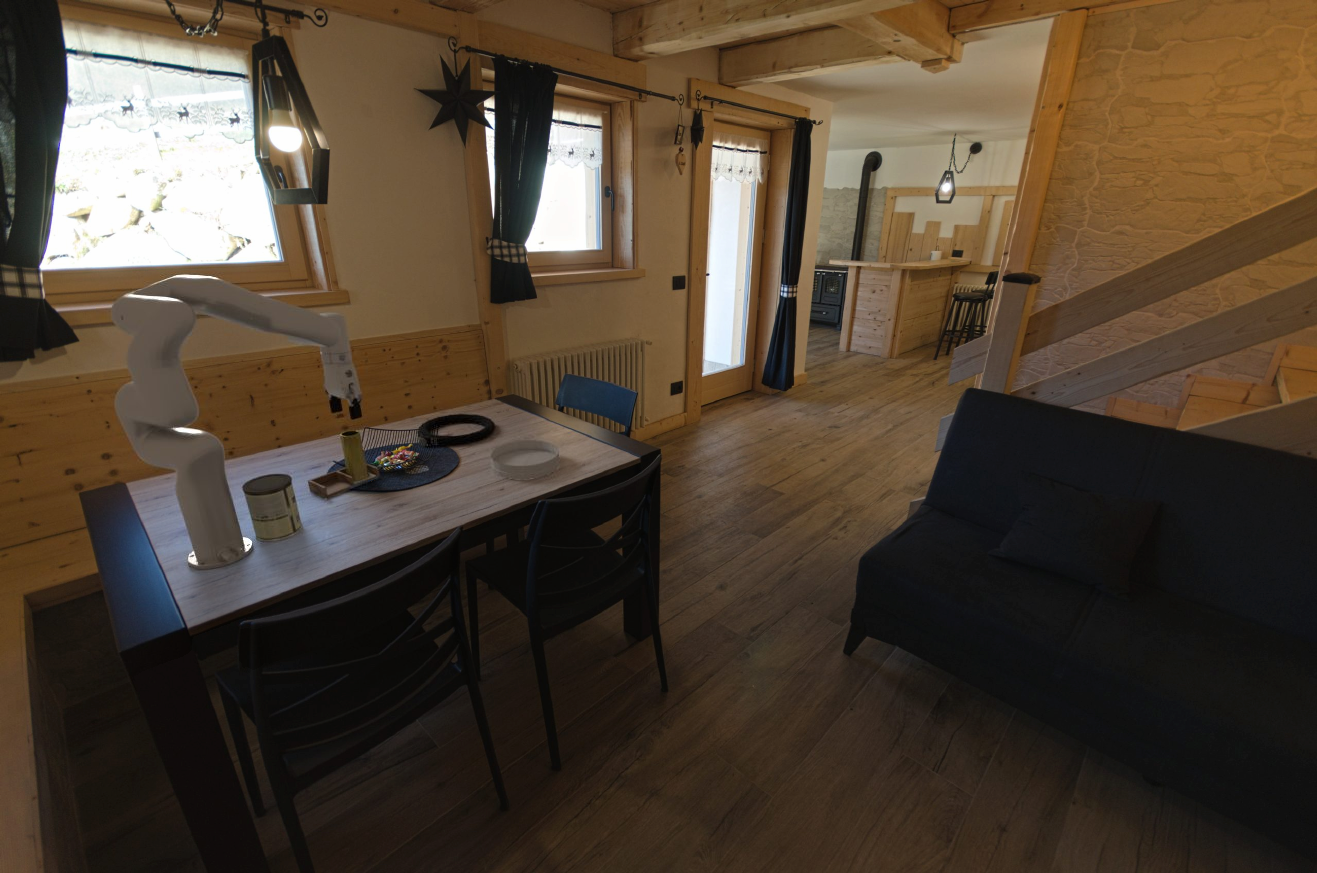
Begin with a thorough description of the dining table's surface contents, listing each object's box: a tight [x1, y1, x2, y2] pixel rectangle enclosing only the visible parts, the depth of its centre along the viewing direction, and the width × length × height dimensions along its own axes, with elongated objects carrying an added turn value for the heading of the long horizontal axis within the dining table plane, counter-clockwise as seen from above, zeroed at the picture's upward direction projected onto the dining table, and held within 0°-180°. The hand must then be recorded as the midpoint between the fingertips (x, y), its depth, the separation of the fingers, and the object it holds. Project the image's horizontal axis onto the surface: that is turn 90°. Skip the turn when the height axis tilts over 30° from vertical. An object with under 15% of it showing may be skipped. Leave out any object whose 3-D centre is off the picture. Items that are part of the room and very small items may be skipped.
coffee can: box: [242, 473, 303, 543], centre depth 146 cm, size 10×10×14 cm
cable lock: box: [416, 413, 496, 447], centre depth 215 cm, size 28×4×30 cm
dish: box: [490, 439, 561, 480], centre depth 189 cm, size 22×22×5 cm
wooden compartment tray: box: [307, 463, 380, 499], centre depth 173 cm, size 8×17×4 cm, turn 148°
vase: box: [339, 429, 369, 481], centre depth 174 cm, size 6×6×14 cm
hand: (346, 415), depth 169 cm, fingers open, 9 cm apart
